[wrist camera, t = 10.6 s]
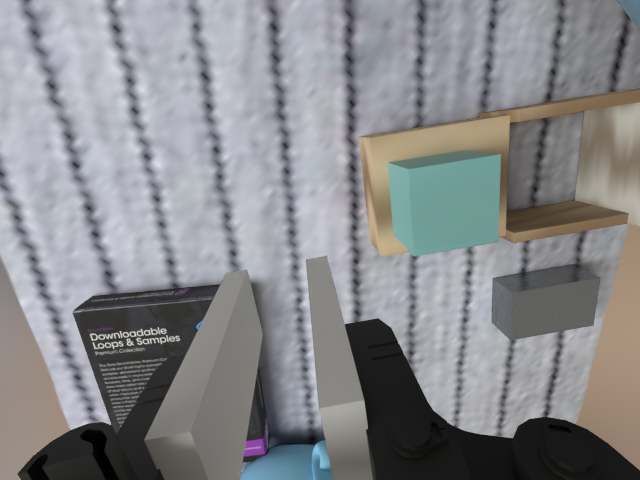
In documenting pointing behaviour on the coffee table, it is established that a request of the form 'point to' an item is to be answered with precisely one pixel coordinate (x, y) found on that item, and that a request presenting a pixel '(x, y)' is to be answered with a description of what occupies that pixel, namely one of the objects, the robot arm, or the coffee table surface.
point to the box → (150, 348)
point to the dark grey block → (544, 301)
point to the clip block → (445, 201)
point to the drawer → (493, 137)
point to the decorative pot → (291, 463)
